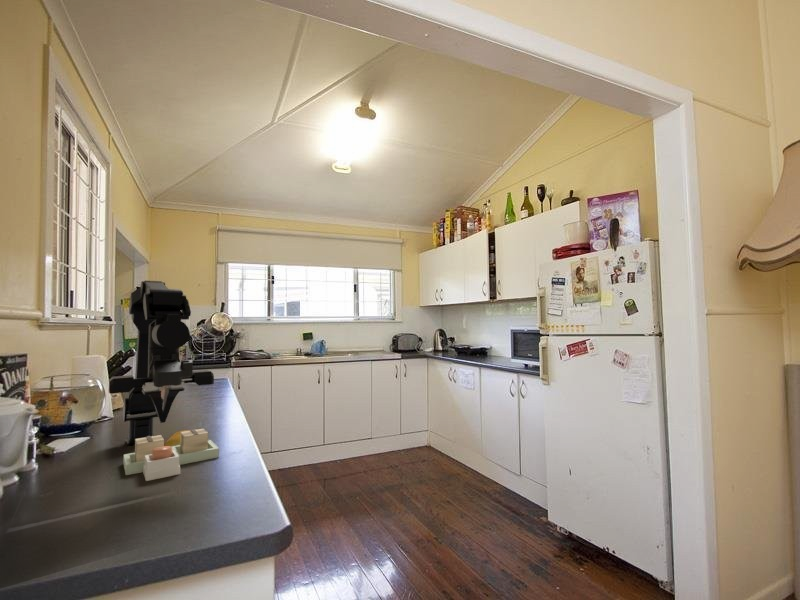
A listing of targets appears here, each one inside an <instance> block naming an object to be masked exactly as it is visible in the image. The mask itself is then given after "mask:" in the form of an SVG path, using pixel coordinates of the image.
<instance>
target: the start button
mask: <svg viewBox="0 0 800 600" xmlns="http://www.w3.org/2000/svg"><path fill="white" fill-rule="evenodd" d="M169 457H172V447H171V446H162V447H157V448H154V449H152V461H153V460H158V459H164V458H169Z"/></svg>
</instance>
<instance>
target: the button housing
mask: <svg viewBox="0 0 800 600" xmlns="http://www.w3.org/2000/svg"><path fill="white" fill-rule="evenodd" d="M142 474H143V476H144V479H145V481H146V482H148V481H153V480H157V479H163V478H167V477H171V476H177V475H181V465H179V455H178V454H177V452H176V451H175V450H173V451H172V457H169V458H164V459H158V460H153V461H152V454H150V455H145V465H143V472H142Z"/></svg>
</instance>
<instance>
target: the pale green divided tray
mask: <svg viewBox="0 0 800 600" xmlns="http://www.w3.org/2000/svg"><path fill="white" fill-rule="evenodd" d="M171 447H172V451H173V450H175V451H176V452H177V454H178V455H179V465H180V466H181V465H185V464H190V463H195V462H196V463H197V462H201V461H207V460H212V459H216V458H220V447H218V445H217V444H216V443H214V442H213V440H211V439H208V449H205V450H200V451H194V452H189V453H183V454H180V445H177V446H171ZM122 461H123V463H122V464H123V468H124V474H125V476H129V475H135V474H139V473H143V465H145V461H139V462H135V452H130V453H125V454H123V460H122Z"/></svg>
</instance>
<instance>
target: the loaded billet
mask: <svg viewBox="0 0 800 600" xmlns="http://www.w3.org/2000/svg"><path fill="white" fill-rule="evenodd" d="M164 444H165V439H164V437H163V436H162V434H159V435H154V436H146V437H145V438H138V439H135V444H134V453H135V462H139V461H145V455H150V454H152V449H154V448H157V447H162V446H164Z"/></svg>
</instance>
